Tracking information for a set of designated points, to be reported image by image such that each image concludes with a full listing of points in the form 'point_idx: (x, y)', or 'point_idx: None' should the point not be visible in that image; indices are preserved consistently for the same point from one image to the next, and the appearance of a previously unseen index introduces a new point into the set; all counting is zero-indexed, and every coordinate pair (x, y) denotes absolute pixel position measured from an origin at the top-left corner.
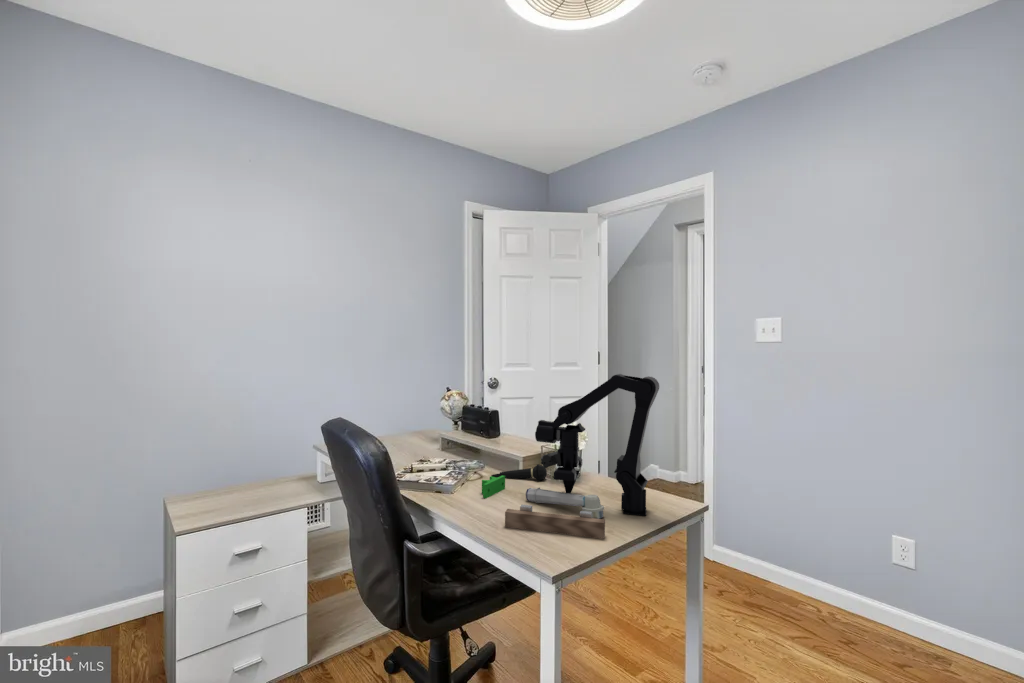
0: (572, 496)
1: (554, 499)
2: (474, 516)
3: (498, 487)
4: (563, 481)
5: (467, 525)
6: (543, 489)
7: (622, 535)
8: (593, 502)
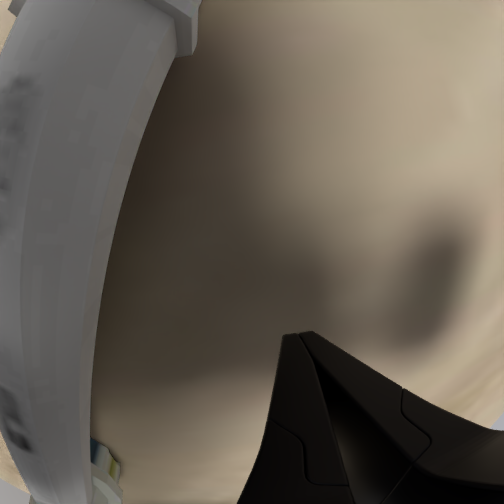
0: (16, 466)
1: None
2: None
3: None
4: (245, 491)
5: None
6: (63, 58)
7: (24, 485)
8: None
